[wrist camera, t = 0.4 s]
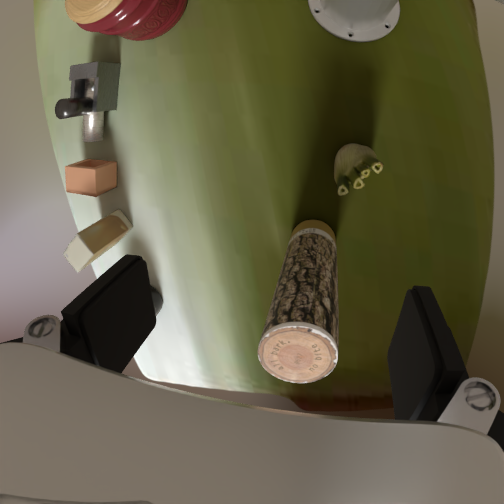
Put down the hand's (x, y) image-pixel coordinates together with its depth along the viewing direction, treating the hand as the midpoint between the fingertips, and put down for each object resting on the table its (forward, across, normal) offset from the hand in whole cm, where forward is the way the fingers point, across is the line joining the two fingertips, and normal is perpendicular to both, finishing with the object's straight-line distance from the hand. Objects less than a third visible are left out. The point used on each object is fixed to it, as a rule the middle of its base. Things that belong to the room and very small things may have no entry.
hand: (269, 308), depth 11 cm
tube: (+36, +34, -9) cm, 50 cm away
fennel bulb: (+36, -6, 0) cm, 36 cm away
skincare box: (+36, +33, +13) cm, 51 cm away
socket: (+36, +36, +3) cm, 51 cm away
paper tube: (+36, -1, +12) cm, 38 cm away
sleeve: (+36, +34, -12) cm, 51 cm away
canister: (+36, +24, -25) cm, 50 cm away
